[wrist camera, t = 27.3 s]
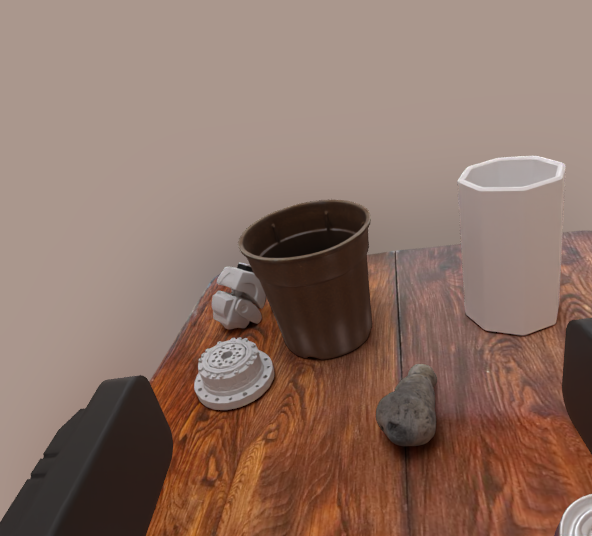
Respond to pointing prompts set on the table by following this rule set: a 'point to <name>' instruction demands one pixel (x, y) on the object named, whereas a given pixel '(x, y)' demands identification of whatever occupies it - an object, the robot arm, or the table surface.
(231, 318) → the grey blocky piece
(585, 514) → the beverage can
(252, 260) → the plant pot
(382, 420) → the stone
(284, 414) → the table surface
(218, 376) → the mechanical component
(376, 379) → the table surface
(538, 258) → the cup
